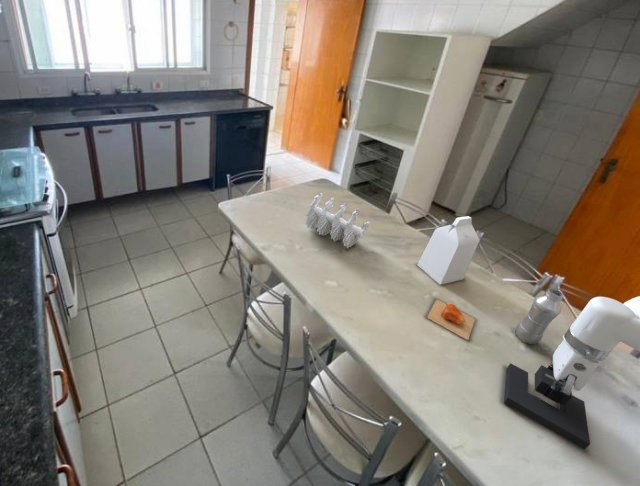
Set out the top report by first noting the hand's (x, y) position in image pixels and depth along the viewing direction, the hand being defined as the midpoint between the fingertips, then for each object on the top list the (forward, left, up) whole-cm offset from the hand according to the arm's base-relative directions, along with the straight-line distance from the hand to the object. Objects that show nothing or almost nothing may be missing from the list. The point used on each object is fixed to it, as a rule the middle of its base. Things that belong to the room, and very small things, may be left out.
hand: (549, 388), depth 87 cm
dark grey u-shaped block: (0, +3, -4) cm, 5 cm away
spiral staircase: (+75, -28, -4) cm, 80 cm away
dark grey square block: (0, 0, -1) cm, 1 cm away
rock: (+24, -13, -4) cm, 28 cm away
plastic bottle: (+4, -21, -4) cm, 22 cm away
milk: (+32, -37, -4) cm, 49 cm away
